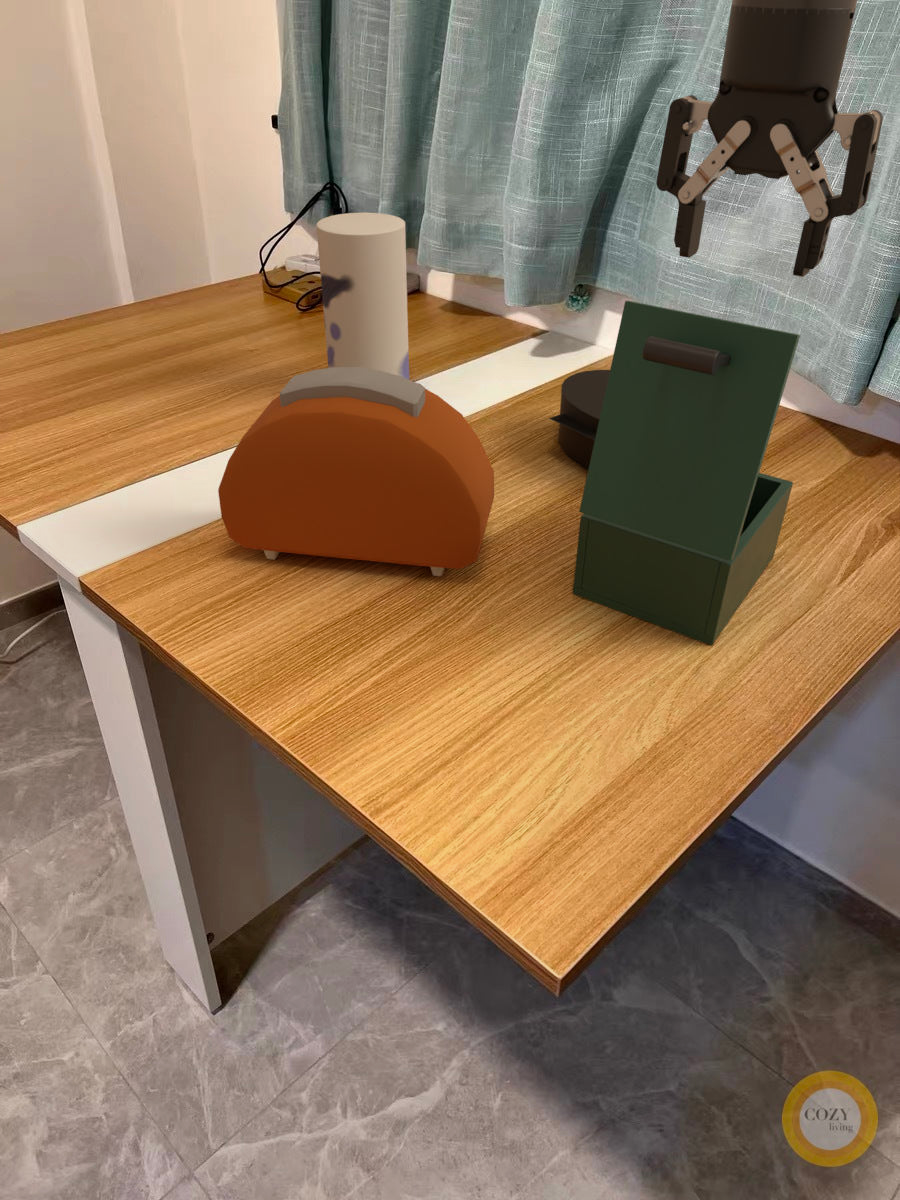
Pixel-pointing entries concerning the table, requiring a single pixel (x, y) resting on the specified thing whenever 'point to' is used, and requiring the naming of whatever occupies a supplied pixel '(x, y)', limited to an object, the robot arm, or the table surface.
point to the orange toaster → (360, 474)
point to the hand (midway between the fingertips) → (743, 264)
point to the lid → (686, 425)
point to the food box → (679, 568)
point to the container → (365, 291)
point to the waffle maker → (581, 414)
